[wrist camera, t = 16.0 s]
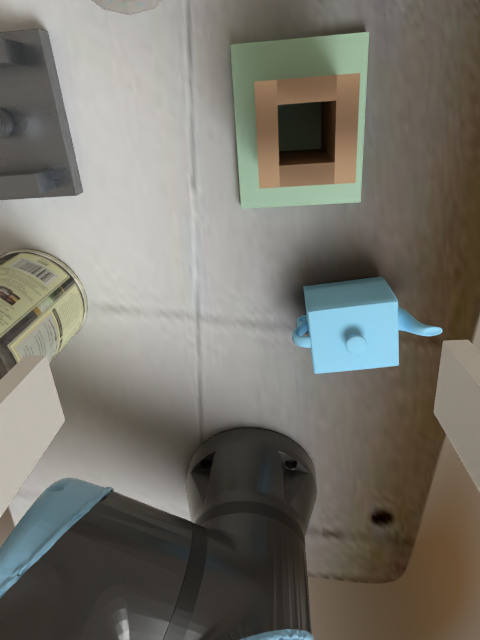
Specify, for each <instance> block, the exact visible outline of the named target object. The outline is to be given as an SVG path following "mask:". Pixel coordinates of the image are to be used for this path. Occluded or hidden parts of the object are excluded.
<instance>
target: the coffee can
mask: <svg viewBox="0 0 480 640" xmlns="http://www.w3.org/2000/svg"><path fill="white" fill-rule="evenodd" d="M87 309H88V306H87V297H86V294H85V291H84V289H83V286H82V284H81V282H80V281H79V279H78V278H77V276H76V275H75V274H74V272H73V271H72V270H71V269H70V268H69V267H68V266H67V265H65V264H64V263H63V262H61V261H60V260H58V259H57V258H55V257H53V256H51V255H49V254H46V253H44V252H40V251H36V250H29V249H22V250H14V251H11V252H8V253H6V254H4V255H2V256H1V257H0V380H1V379H2V378H3V377H4V376H5V375H6V374H7V373H8V372H9V371H10V370H11V369H12V368H13V367H14V366H15V365H16V364H17V363H18V362H19V361H20V360H21V359H22V358H23V357H24V356H30V355H47V358H48V362H49V364H50V363H51V362H52V361H53V359H54V358H55V357H56V356H57V355H58V353H59V352H60V351H61V350H62V349H63V348H64V346H65V345H66V344H67V343H68V342H69V340H70V339H71V338H72V337H73V336H74V335H75V334H76V333H77V332H78V331H79V330H80V329H81V327H82V326H83V324H84V322H85V319H86V316H87Z"/></svg>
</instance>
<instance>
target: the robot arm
mask: <svg viewBox="0 0 480 640" xmlns="http://www.w3.org/2000/svg"><path fill="white" fill-rule="evenodd" d="M434 414H435V416H436V417H437V419H438V421H439V422H440V424H441V426H442V428H443V429H444V431H445V433H446V435H447V436H448V438H449V440H450V441H451V443H452V445H453V447H454V449H455V450H456V452H457V454H458V456H459V457H460V459H461V461H462V463H463V464H464V466H465V468H466V470H467V471H468V473H469V475H470V476H471V478H472V480H473V482H474V483H475V485H476V487H477V489H478V491H479V492H480V352H479V351H478V350H477V349H476V348H475V347H474V346H473V345H472V343H471V342H470V341H469V340H450V341H443V346H442V354H441V361H440V368H439V376H438V383H437V391H436V398H435V405H434ZM64 422H65V418H64V414H63V411H62V407H61V404H60V400H59V397H58V393H57V390H56V386H55V383H54V379H53V376H52V372H51V369H50V365H49V362H48V358H47V355H30V356H24V357H23V358H22V359H21V360H20V361H19V362H18V363H17V364H16V365H15V366H14V367H13V368H12V369H11V370H10V371H9V372H8V373H7V374H6V375H5V376H4V377H3V378H2V379H1V380H0V517H1V516H2V514H3V513H4V511H5V510H6V508H7V507H8V505H9V504H10V502H11V501H12V499H13V498H14V496H15V495H16V493H17V492H18V491H19V489H20V488H21V486H22V485H23V483H24V482H25V480H26V479H27V477H28V476H29V474H30V473H31V471H32V470H33V468H34V467H35V465H36V464H37V462H38V461H39V459H40V458H41V456H42V455H43V453H44V452H45V450H46V449H47V447H48V446H49V444H50V443H51V441H52V440H53V438H54V437H55V435H56V434H57V432H58V431H59V429H60V428H61V426H62V425H63V423H64ZM113 490H114V489H113V488H111V487H107V488H104V487H101V486H98V485H95V484H92V483H88V482H85V481H82V480H79V479H76V478H64V479H61V480H59V481H57V482H55V483H53V484H52V485H51V486H49V487H48V488H47V489H46V490H45V491H44V492H43V493H42V494H41V495H40V496H39V498H38V499H37V500H36V501H35V502H34V503H33V505H32V506H31V507H30V508H29V510H28V511H27V512H26V514H25V515H24V516H23V518H22V519H21V520H20V522H19V523H18V524H17V525H16V527H15V528H14V530H13V531H12V533H11V534H10V535H9V537H8V538H7V539H6V541H5V542H4V544H3V545H2V547H1V548H0V640H314V638H313V636H312V630H311V616H310V603H309V590H308V577H307V564H306V551H305V534H306V531H307V527H308V524H309V521H310V517H311V514H312V511H313V508H314V504H315V501H316V494H317V486H316V476H315V470H314V466H313V464H312V461H311V459H310V458H309V456H308V455H307V453H306V452H305V451H304V450H303V449H302V448H301V447H300V446H299V445H298V444H296V443H295V442H294V441H292V440H291V439H289V438H287V437H285V436H283V435H281V434H278V433H275V432H272V431H269V430H264V429H257V428H240V429H233V430H228V431H225V432H222V433H219V434H217V435H215V436H213V437H211V438H209V439H208V440H206V441H205V442H204V443H203V444H202V445H201V446H200V447H199V448H198V449H197V450H196V451H195V453H194V455H193V457H192V459H191V461H190V465H189V469H188V474H187V479H186V492H187V498H188V504H189V510H190V516H191V522H190V521H188V520H186V519H183V518H180V517H178V516H175V515H172V514H170V513H167V512H164V511H162V510H159V509H157V508H154V507H152V506H149V505H147V504H144V503H142V502H139V501H137V500H134V499H132V498H129V497H127V496H124V495H122V494H119V493H117V492H114V491H113Z"/></svg>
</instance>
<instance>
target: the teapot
mask: <svg viewBox="0 0 480 640" xmlns="http://www.w3.org/2000/svg"><path fill="white" fill-rule="evenodd" d="M303 287H304V296H305V305H306V314H307V315H303V316H300V317H299V318H298V319H297V326H298V327H297V328H296V329H295V330H294V331H293V334H292V339H293V342H294V343H295V344H296V345H297V346H300V347H304V348H310V349H311V355H312V362H313V369H314V374H317V373H329V372H340V371H350V370H360V369H370V368H379V367H389V366H397V365H399V348H398V330H403V331H408V332H411V333H414V334H417V335H422V336H435V335H438V334H440V333H442V329H441V328H439V327H435V326H428V325H424V324H422V323H420V322H419V321H417V320H416V319H415V318H414V317H413V316H412V315H411V314H409V313H408V312H407V311H406V310H404V309H402V308H400V307H398V300H397V298H396V296H395V295H394V293H393V292H392V290H391V288H390V287H389V285H388V284H387V282H386V280H385V279H384V277H383V276H381V277H372V278H364V279H356V280H349V281H341V282H333V283H325V284H317V285H310V286H303ZM307 331H308V332H309V336H302V335H303V334H305V333H306V332H307Z"/></svg>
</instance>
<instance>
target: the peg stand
mask: <svg viewBox="0 0 480 640" xmlns="http://www.w3.org/2000/svg"><path fill="white" fill-rule="evenodd" d="M82 192H83V189H82V185H81V180H80V176H79V171H78V167H77V162H76V158H75V153H74V149H73V144H72V140H71V135H70V131H69V126H68V121H67V117H66V112H65V108H64V103H63V99H62V94H61V90H60V85H59V81H58V76H57V72H56V67H55V62H54V58H53V53H52V49H51V44H50V40H49V35H48V32H47V31H44V30H40V29H31V30H21V31H11V32H1V33H0V200H8V199H24V198H41V197H58V196H75V195H78V194H80V193H82Z"/></svg>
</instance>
